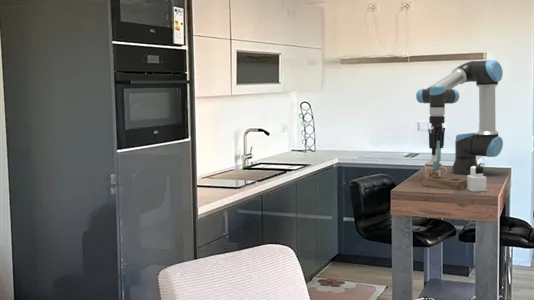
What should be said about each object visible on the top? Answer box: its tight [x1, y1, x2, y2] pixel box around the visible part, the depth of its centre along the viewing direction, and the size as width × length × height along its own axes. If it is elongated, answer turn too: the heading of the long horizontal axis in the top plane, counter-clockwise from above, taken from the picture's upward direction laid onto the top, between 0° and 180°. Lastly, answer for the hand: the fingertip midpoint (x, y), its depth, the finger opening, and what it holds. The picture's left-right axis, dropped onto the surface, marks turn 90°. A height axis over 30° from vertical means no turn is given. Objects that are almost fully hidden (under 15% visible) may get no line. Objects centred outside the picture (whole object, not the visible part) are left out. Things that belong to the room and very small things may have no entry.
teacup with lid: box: [424, 158, 448, 178], centre depth 341 cm, size 12×9×12 cm
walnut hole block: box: [422, 176, 467, 191], centre depth 320 cm, size 12×20×4 cm, turn 45°
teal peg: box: [433, 141, 440, 170], centre depth 322 cm, size 3×3×15 cm
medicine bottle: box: [466, 165, 487, 193], centre depth 307 cm, size 7×7×12 cm
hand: (436, 160), depth 322 cm, fingers closed on teal peg, 3 cm apart
